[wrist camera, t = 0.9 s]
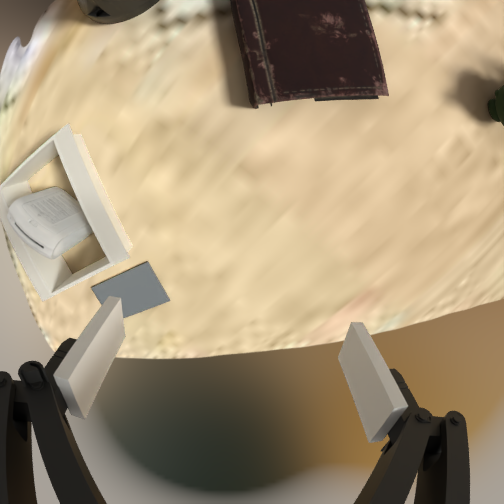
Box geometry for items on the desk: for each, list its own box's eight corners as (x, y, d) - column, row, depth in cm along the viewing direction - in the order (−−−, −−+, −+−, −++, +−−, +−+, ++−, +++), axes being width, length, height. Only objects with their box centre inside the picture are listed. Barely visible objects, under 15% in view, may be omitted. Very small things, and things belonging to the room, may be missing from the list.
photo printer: (47, 204, 38) (-3, 225, 26) (56, 181, 36) (4, 198, 25) (91, 239, 40) (47, 272, 28) (101, 217, 39) (56, 244, 27)
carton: (17, 187, 36) (-9, 195, 29) (93, 124, 34) (68, 123, 27) (63, 282, 42) (42, 301, 36) (146, 239, 40) (129, 257, 34)
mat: (92, 287, 43) (91, 288, 42) (148, 261, 41) (147, 262, 41) (114, 320, 45) (113, 322, 45) (170, 299, 44) (169, 301, 43)
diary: (251, 110, 35) (251, 105, 30) (222, -30, 26) (219, -47, 22) (380, 99, 34) (396, 95, 29) (341, -35, 25) (350, -50, 21)
